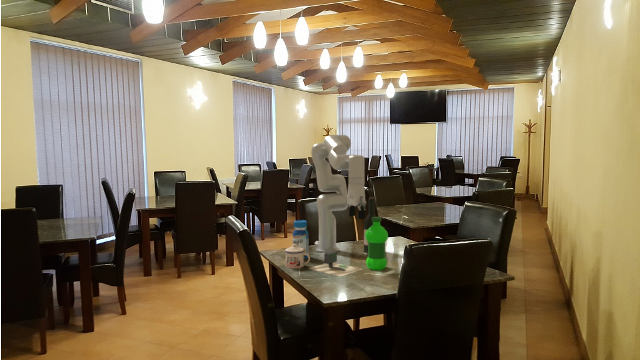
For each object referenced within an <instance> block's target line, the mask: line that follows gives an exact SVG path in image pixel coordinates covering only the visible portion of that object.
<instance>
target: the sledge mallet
mask: <svg viewBox="0 0 640 360" xmlns="http://www.w3.org/2000/svg"><path fill="white" fill-rule="evenodd" d="M337 252H338V251H337ZM337 252H329V253H323V256H324V260H323V261H324V263H323V264H325V263H326V264H329V268H336V269H340V270H345V269H342V268H338V267H333V263H337V262H338V253H337Z"/></svg>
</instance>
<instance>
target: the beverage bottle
mask: <svg viewBox="0 0 640 360" xmlns="http://www.w3.org/2000/svg"><path fill="white" fill-rule="evenodd" d="M307 227H308V221H307V220H305V219H301V220H300V219H298V220H294V221H293V228H294V230H293V232H292V237H291V238H292V239H291V240H292V245H293V244H296V245H297V246H298V247H300V248H303V249H304V253H306V254H308V255H309V250H310V249H309V240H310V239H309V231H308V229H307ZM309 256H310V255H309ZM306 259H308V256H307V255H304V260H306Z"/></svg>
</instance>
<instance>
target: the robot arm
mask: <svg viewBox="0 0 640 360" xmlns="http://www.w3.org/2000/svg"><path fill="white" fill-rule="evenodd" d="M351 141H352V140H351V139H350V137H349V136H348V135H347V134H346V135H345V134H330V135H328V136H325V138H324V140H323V142H319V143H318V142H317V143H315V144H313V145H312V147H311V151H310V153H311V159H312V163H313V164H314V167H315V174H316V182H317V188H318V191H320V192H322V193H323V192H324V194H320V195H319V196H318V197H317V199H316V206H317V215H318V240H316V241H315V242H314V245H315V246H317V247H316V248H315V250H316V251H317V252H319V253H323V254H325V253H329V252H339V250H340V248H339V247H338V246H337V221H336V217H335V215H334V214H333V212H336V211H345V210H348V216H349V217H356V207H357V209H358V210H357V219H359V220H363V219H364V220H365V219H366V207H367V206H366V205H367V201H366V193H365V192H366V191H365V184H366V183H365V157H364V155H361V154H347V152H348V151H349V150H350V148H351V146H352V145H351V144H352V143H351ZM326 159H328V161H327V160H326ZM332 169H334V170H336V171H348V187H347V183H346V178H345V177H344V176H343V175H342V174H333V173H332ZM329 192H335V193H329ZM347 208H348V209H347Z"/></svg>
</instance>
